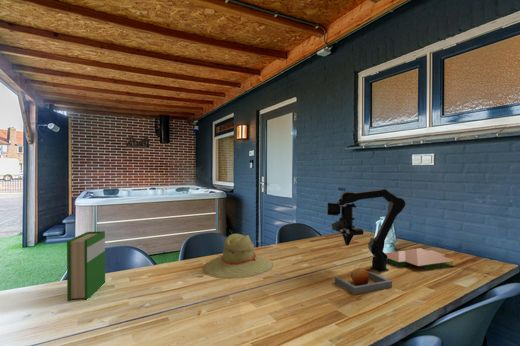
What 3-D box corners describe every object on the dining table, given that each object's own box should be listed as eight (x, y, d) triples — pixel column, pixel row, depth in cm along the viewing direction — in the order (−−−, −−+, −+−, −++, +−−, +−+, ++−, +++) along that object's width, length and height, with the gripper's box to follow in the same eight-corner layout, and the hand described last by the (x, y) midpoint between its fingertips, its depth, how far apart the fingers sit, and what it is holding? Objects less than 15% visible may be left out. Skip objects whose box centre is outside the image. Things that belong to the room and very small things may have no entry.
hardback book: (87, 300, 113) (87, 240, 113) (67, 301, 112) (67, 240, 112) (105, 283, 131) (104, 231, 131) (87, 284, 130) (87, 231, 130)
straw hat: (283, 259, 166) (283, 230, 166) (255, 285, 129) (255, 247, 129) (227, 253, 181) (227, 226, 181) (187, 273, 143) (187, 239, 143)
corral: (369, 276, 137) (369, 271, 137) (391, 286, 124) (391, 281, 124) (334, 282, 130) (334, 277, 130) (354, 294, 117) (354, 288, 117)
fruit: (375, 284, 123) (365, 268, 124) (359, 292, 125) (349, 276, 126) (372, 278, 131) (362, 262, 132) (357, 285, 133) (347, 270, 134)
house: (459, 266, 152) (459, 251, 152) (411, 273, 142) (411, 257, 142) (422, 254, 174) (422, 241, 174) (378, 260, 164) (378, 246, 164)
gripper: (323, 214, 155) (324, 242, 155) (345, 219, 138) (346, 251, 138) (340, 213, 159) (340, 240, 159) (364, 217, 142) (364, 249, 142)
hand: (347, 245), depth 149 cm, fingers closed
